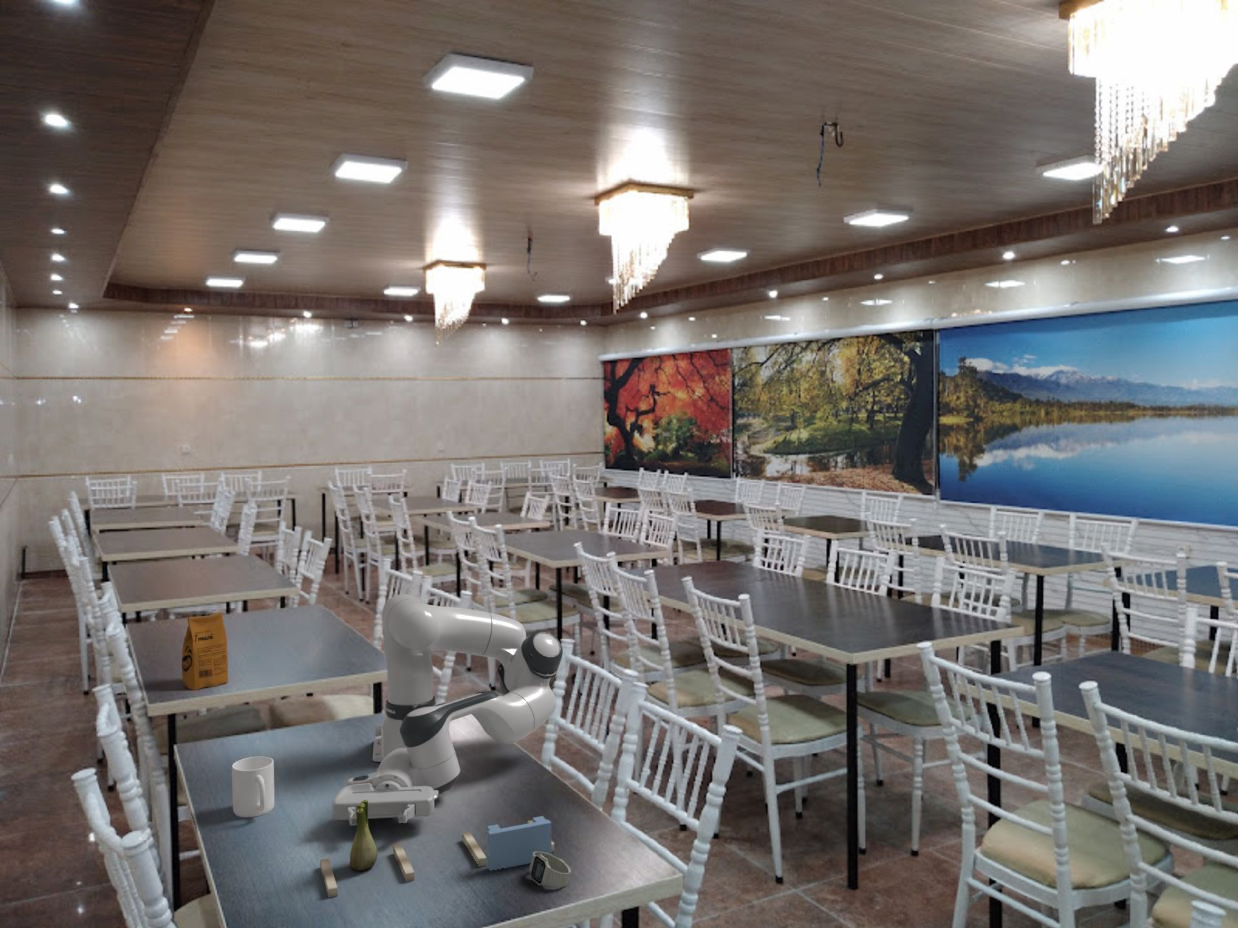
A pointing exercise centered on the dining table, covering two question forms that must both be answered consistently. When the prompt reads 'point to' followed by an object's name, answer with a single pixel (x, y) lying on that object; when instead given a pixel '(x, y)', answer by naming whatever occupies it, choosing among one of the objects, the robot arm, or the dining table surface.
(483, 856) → the beige small bars
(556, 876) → the wristwatch
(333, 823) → the dining table surface
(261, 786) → the cup
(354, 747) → the dining table surface
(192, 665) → the coffee package
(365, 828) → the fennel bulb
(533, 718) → the robot arm
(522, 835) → the blue notched panel
